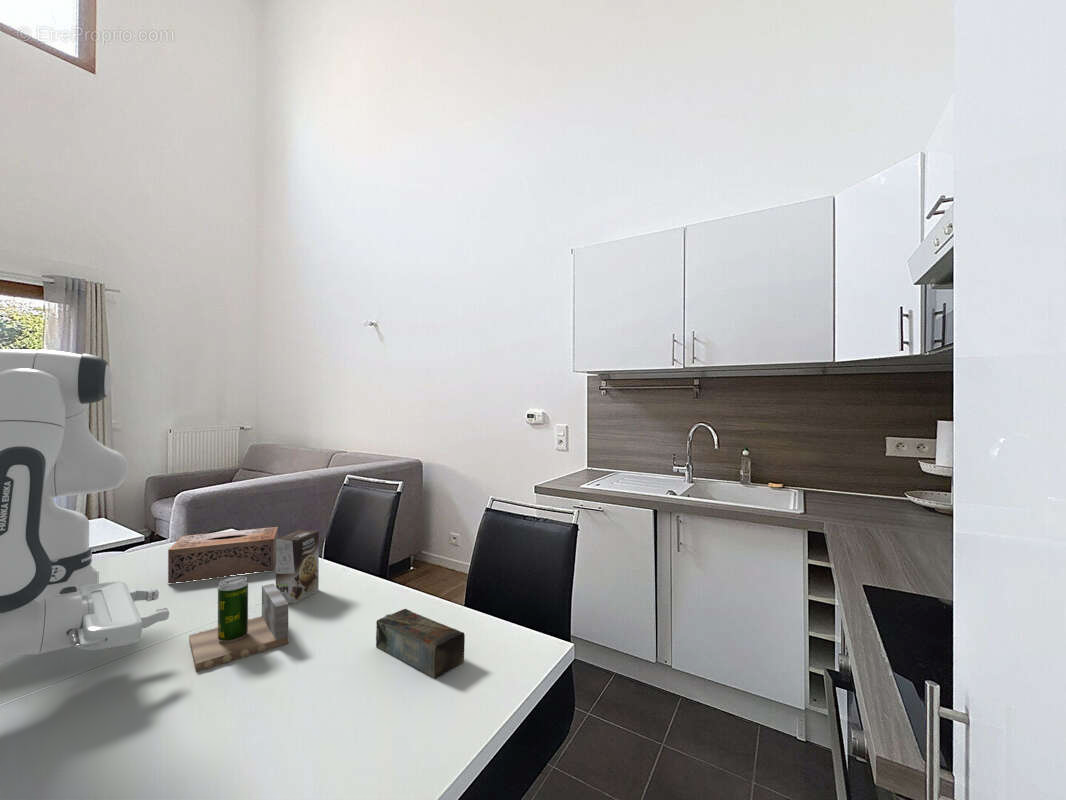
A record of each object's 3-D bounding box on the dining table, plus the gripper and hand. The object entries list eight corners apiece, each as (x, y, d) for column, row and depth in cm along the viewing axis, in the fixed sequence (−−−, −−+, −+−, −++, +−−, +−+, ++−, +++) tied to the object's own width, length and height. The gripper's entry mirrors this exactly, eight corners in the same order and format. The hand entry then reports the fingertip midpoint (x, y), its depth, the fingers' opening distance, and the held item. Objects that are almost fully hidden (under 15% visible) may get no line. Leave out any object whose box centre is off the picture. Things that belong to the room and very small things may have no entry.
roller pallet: (189, 641, 100) (189, 601, 100) (273, 619, 111) (273, 583, 111) (196, 672, 89) (196, 627, 89) (288, 644, 100) (288, 604, 100)
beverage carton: (405, 633, 105) (405, 603, 105) (466, 663, 93) (467, 630, 93) (374, 648, 99) (374, 616, 98) (436, 682, 87) (436, 646, 87)
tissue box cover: (277, 557, 154) (277, 526, 154) (273, 572, 141) (273, 538, 141) (181, 568, 144) (182, 536, 144) (168, 585, 131) (168, 549, 131)
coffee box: (296, 604, 119) (296, 540, 119) (274, 601, 120) (274, 538, 120) (319, 589, 128) (320, 530, 128) (299, 587, 129) (299, 529, 129)
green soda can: (242, 628, 103) (242, 574, 103) (251, 636, 99) (251, 580, 99) (214, 638, 99) (214, 581, 99) (222, 647, 95) (222, 588, 95)
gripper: (73, 630, 76) (177, 609, 87) (63, 582, 90) (154, 569, 100) (67, 668, 76) (172, 643, 87) (59, 615, 90) (150, 598, 100)
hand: (162, 603), depth 94 cm, fingers open, 8 cm apart
